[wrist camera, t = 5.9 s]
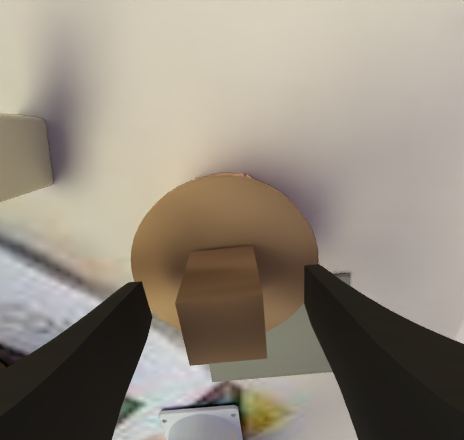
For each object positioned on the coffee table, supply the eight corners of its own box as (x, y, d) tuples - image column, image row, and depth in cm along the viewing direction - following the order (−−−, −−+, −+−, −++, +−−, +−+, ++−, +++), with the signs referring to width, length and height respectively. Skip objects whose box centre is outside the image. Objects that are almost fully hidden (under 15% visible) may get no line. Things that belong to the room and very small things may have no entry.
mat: (339, 366, 23) (341, 370, 22) (212, 377, 23) (212, 382, 22) (347, 273, 19) (350, 276, 18) (195, 287, 19) (194, 291, 19)
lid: (312, 321, 15) (348, 406, 10) (158, 336, 15) (128, 424, 11) (314, 164, 11) (371, 189, 7) (114, 186, 12) (42, 224, 7)
